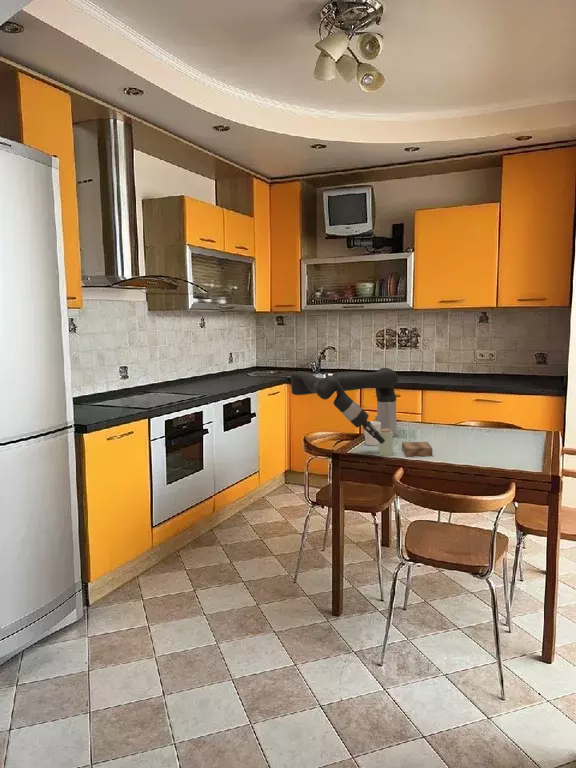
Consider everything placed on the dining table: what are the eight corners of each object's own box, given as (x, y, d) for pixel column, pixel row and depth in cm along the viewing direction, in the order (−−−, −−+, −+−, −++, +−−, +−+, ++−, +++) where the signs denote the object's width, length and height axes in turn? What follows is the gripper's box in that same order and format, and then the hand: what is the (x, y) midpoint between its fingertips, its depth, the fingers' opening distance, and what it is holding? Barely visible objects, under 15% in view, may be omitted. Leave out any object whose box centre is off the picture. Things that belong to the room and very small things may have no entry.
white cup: (364, 445, 261) (363, 424, 260) (364, 441, 269) (363, 421, 268) (381, 445, 260) (381, 424, 259) (381, 441, 268) (380, 420, 267)
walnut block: (406, 457, 240) (406, 448, 240) (402, 451, 251) (401, 442, 251) (432, 457, 240) (432, 448, 239) (427, 450, 251) (427, 441, 250)
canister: (380, 456, 243) (379, 431, 242) (378, 452, 249) (378, 428, 247) (392, 455, 243) (392, 430, 242) (390, 452, 248) (390, 428, 247)
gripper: (347, 416, 251) (373, 442, 252) (350, 423, 237) (377, 450, 238) (359, 404, 250) (385, 430, 251) (363, 411, 236) (390, 437, 237)
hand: (381, 439), depth 244 cm, fingers open, 8 cm apart
